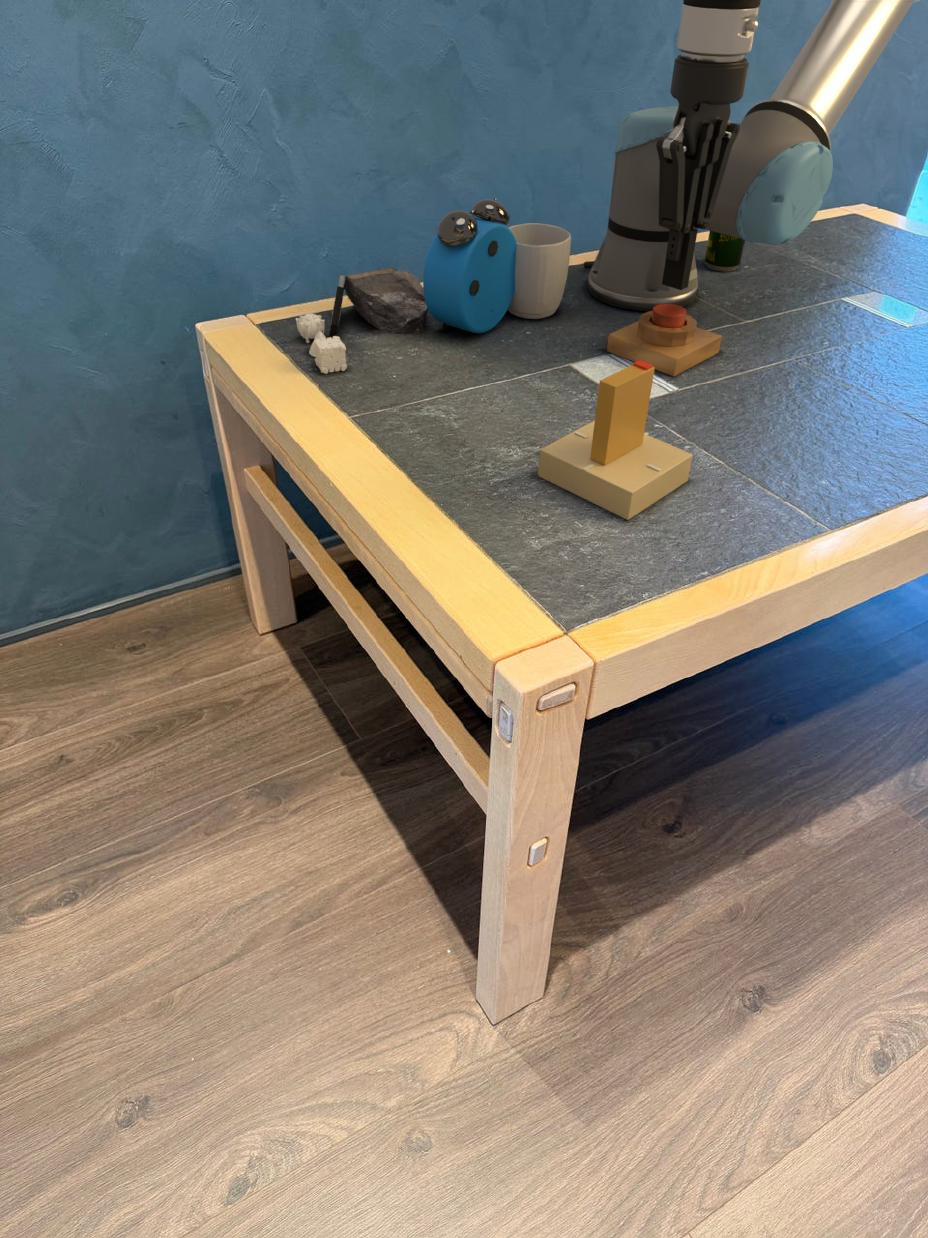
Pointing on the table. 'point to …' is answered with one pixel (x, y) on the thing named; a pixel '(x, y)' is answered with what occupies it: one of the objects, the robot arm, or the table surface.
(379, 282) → the rock
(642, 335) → the button block
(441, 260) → the alarm clock
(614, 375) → the lock knob
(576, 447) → the panel
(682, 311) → the button
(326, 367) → the game pieces
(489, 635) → the table surface
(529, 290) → the mug
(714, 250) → the beer can
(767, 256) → the table surface
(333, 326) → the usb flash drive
